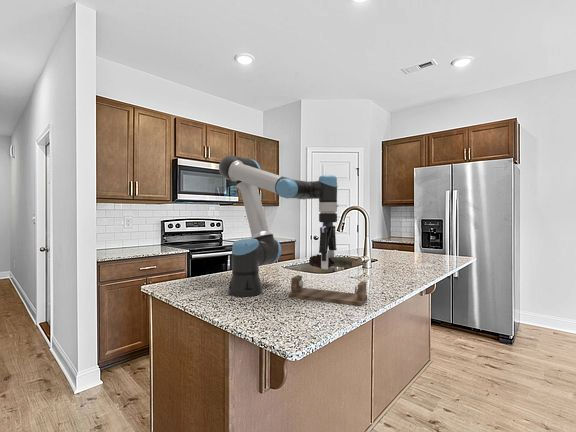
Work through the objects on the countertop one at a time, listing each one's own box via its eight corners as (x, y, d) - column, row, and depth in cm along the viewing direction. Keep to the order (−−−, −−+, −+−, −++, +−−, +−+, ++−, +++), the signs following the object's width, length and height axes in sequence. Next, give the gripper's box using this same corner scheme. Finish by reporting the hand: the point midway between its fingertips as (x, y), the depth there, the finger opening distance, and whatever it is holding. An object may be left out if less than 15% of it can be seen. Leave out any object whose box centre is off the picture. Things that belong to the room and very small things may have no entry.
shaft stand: (288, 297, 136) (288, 279, 136) (299, 290, 147) (299, 274, 147) (361, 306, 124) (361, 286, 124) (367, 298, 135) (367, 280, 134)
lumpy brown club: (351, 267, 137) (351, 254, 137) (352, 270, 131) (352, 256, 130) (309, 266, 139) (309, 253, 139) (308, 269, 133) (308, 255, 133)
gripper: (329, 213, 124) (329, 272, 124) (343, 212, 143) (343, 264, 143) (310, 213, 127) (310, 270, 127) (327, 212, 146) (327, 262, 146)
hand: (328, 267), depth 135 cm, fingers closed on lumpy brown club, 8 cm apart
